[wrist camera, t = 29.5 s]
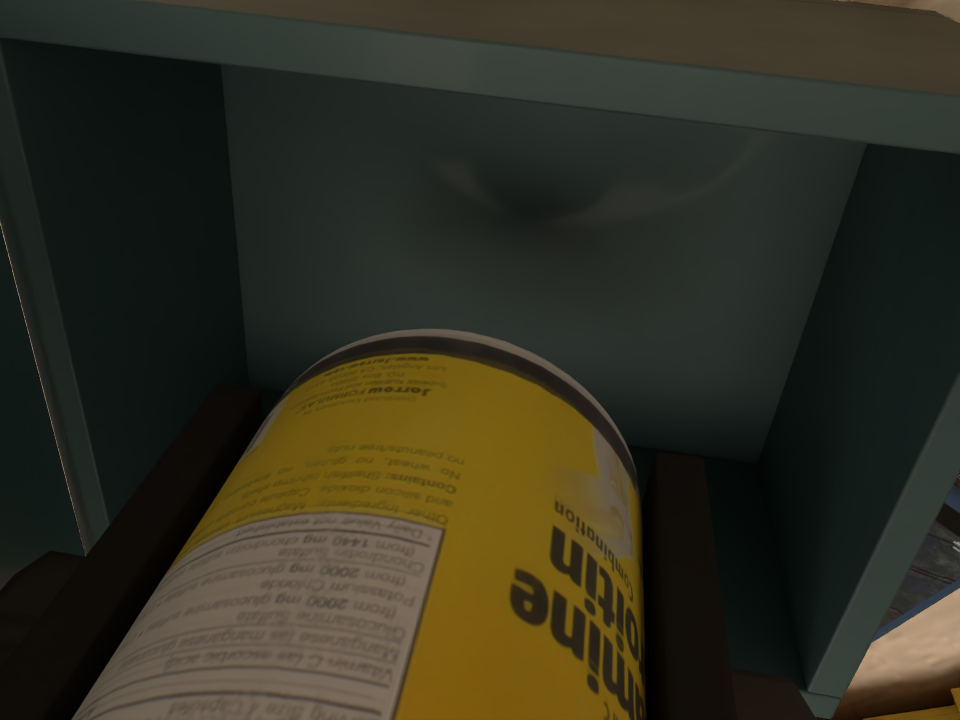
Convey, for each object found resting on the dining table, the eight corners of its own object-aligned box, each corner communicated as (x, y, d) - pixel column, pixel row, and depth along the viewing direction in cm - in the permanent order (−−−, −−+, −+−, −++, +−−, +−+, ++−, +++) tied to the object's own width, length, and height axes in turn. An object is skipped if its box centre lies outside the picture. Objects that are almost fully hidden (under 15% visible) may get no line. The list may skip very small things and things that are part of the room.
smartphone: (544, 667, 31) (849, 416, 23) (545, 650, 31) (843, 400, 24) (700, 755, 32) (1038, 546, 24) (699, 736, 33) (1027, 528, 25)
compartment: (937, 10, 18) (1147, 117, 11) (772, 471, 26) (832, 721, 18) (192, -70, 20) (-65, -23, 12) (237, 387, 27) (93, 587, 20)
